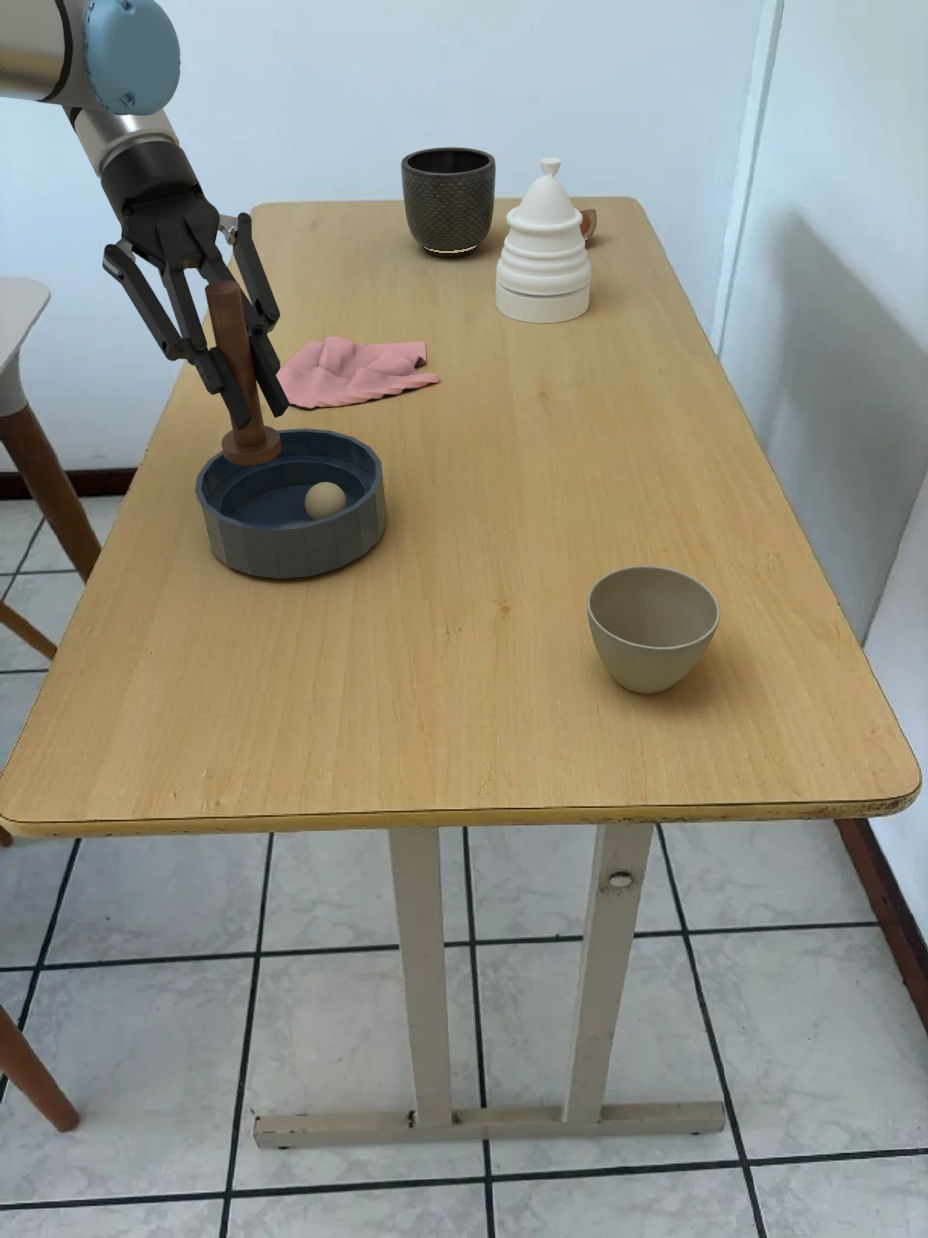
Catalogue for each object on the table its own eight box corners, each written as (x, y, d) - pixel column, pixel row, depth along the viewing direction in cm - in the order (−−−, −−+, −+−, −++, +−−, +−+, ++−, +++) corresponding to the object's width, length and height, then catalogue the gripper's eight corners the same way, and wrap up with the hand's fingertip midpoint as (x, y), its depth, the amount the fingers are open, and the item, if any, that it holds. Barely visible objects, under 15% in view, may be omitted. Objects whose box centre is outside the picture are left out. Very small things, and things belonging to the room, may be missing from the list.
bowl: (200, 591, 86) (186, 536, 82) (215, 486, 99) (203, 435, 95) (391, 574, 87) (387, 520, 83) (381, 473, 100) (377, 422, 96)
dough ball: (307, 534, 91) (302, 499, 89) (307, 510, 94) (302, 475, 92) (349, 530, 92) (345, 495, 89) (348, 507, 95) (344, 472, 92)
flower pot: (732, 682, 76) (749, 614, 72) (638, 736, 72) (649, 667, 67) (647, 615, 82) (656, 548, 78) (555, 661, 78) (560, 594, 74)
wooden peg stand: (221, 467, 85) (186, 301, 75) (225, 438, 89) (192, 276, 79) (280, 463, 85) (253, 297, 75) (282, 433, 89) (256, 272, 79)
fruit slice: (548, 254, 146) (549, 220, 143) (535, 238, 151) (536, 206, 148) (600, 248, 148) (602, 215, 145) (586, 233, 153) (588, 201, 149)
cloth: (236, 392, 114) (232, 373, 113) (339, 323, 129) (337, 305, 127) (381, 432, 107) (379, 412, 105) (473, 353, 121) (473, 335, 120)
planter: (493, 266, 143) (494, 174, 135) (400, 265, 144) (395, 174, 135) (496, 233, 154) (497, 146, 145) (410, 232, 154) (405, 146, 146)
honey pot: (508, 281, 138) (509, 147, 127) (596, 289, 136) (606, 153, 124) (485, 317, 129) (485, 176, 117) (579, 327, 126) (589, 184, 115)
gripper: (218, 171, 87) (331, 405, 88) (46, 208, 80) (170, 462, 81) (234, 119, 81) (357, 372, 81) (48, 155, 74) (183, 432, 74)
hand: (263, 416), depth 81 cm, fingers closed on wooden peg stand, 3 cm apart
